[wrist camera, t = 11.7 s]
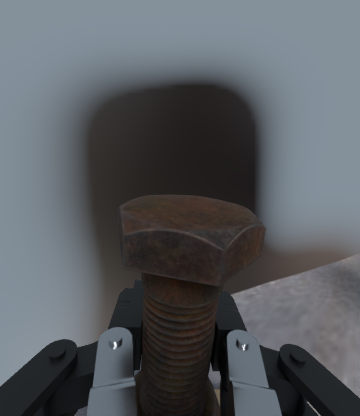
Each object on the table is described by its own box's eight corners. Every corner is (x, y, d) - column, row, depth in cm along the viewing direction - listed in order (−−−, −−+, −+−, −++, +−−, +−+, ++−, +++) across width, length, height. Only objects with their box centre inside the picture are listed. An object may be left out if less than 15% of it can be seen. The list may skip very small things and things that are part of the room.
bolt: (92, 519, 11) (78, 215, 7) (135, 404, 15) (141, 189, 11) (216, 571, 9) (284, 245, 6) (220, 430, 14) (259, 202, 10)
